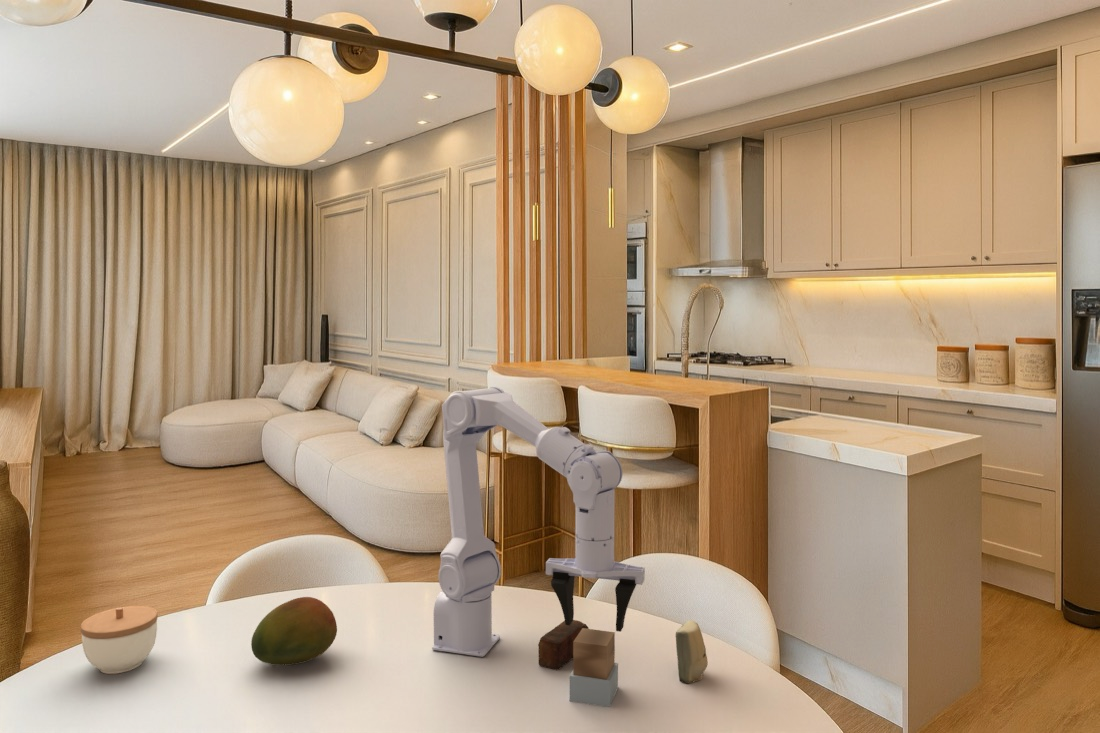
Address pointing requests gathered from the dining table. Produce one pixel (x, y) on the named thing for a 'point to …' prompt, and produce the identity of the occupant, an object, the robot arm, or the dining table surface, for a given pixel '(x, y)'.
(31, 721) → the dining table surface
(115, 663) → the lidded jar
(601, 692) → the slate block
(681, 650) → the tan tapered stone
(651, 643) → the dining table surface
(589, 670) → the walnut cube
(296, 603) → the fruit
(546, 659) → the brick
